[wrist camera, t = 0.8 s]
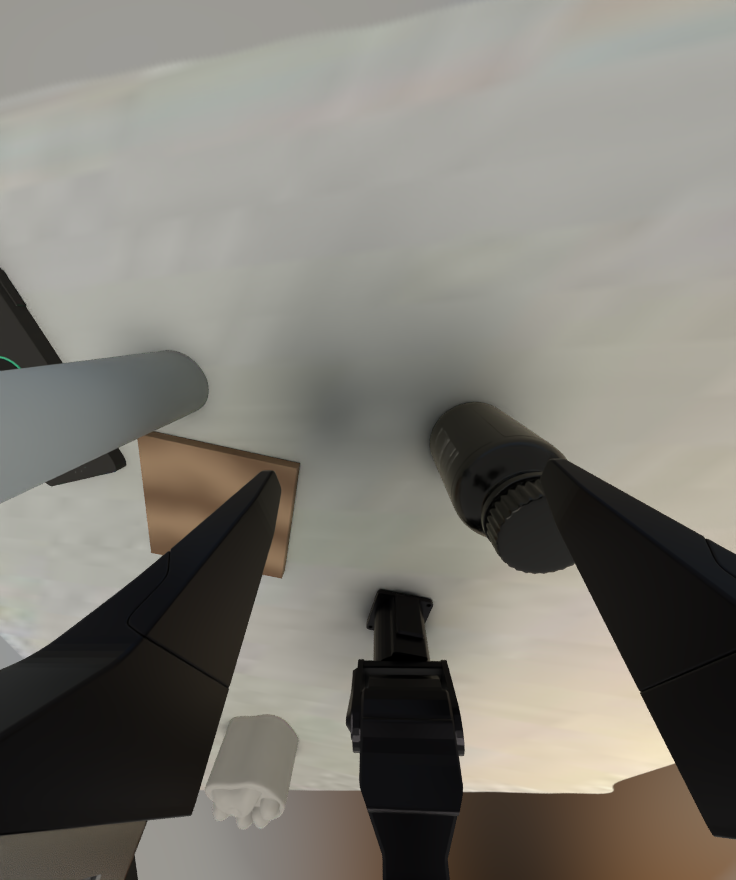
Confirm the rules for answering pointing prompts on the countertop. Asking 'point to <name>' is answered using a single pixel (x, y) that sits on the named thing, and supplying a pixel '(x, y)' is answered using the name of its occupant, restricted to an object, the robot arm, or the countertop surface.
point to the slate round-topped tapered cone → (88, 411)
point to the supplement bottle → (500, 484)
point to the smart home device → (24, 345)
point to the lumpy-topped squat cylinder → (253, 770)
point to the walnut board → (206, 489)
